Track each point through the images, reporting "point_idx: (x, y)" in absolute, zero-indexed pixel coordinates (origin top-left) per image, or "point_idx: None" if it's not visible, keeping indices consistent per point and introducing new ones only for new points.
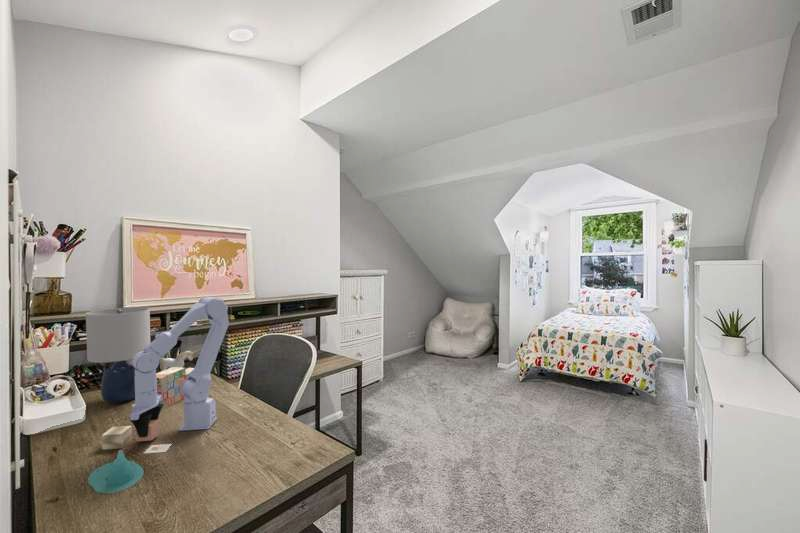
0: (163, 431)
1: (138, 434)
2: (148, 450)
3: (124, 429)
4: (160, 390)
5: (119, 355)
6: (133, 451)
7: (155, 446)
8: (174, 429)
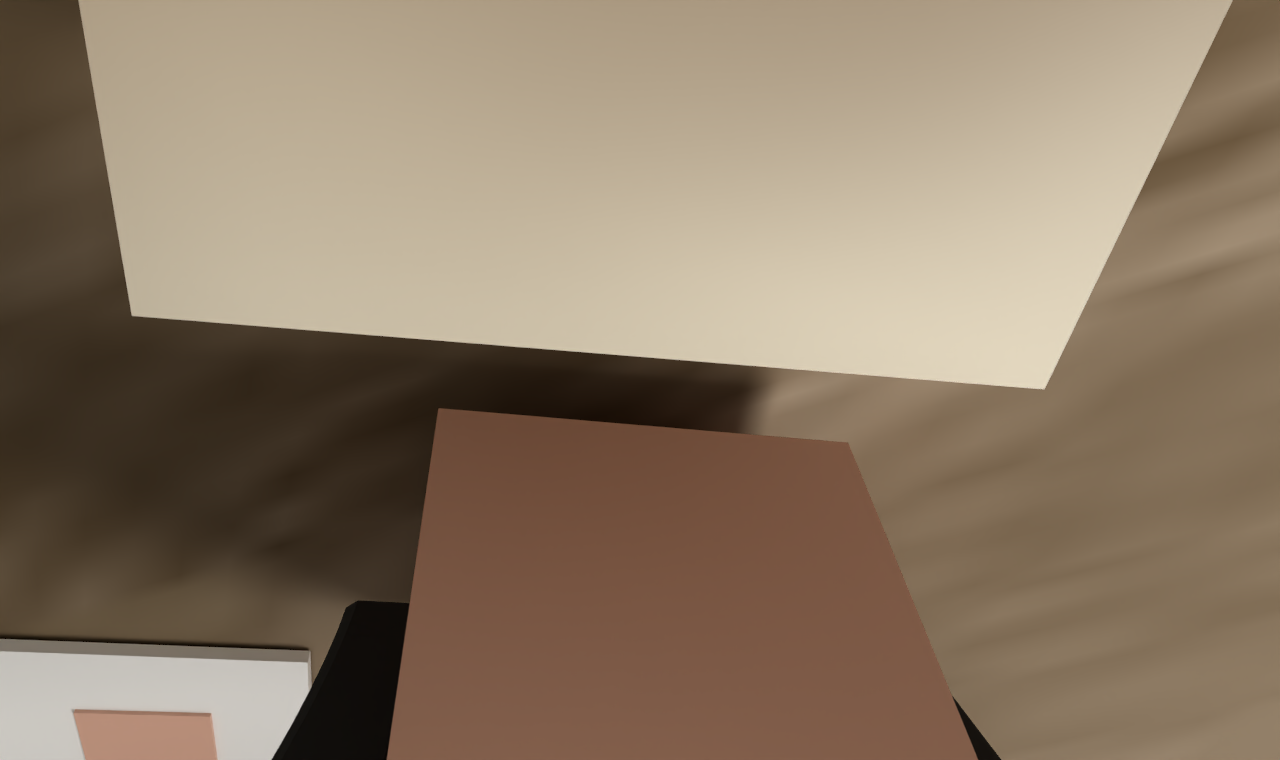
0: (971, 631)
1: (315, 679)
2: (72, 686)
3: (689, 231)
4: None
5: None
6: (66, 428)
7: (245, 729)
8: None
